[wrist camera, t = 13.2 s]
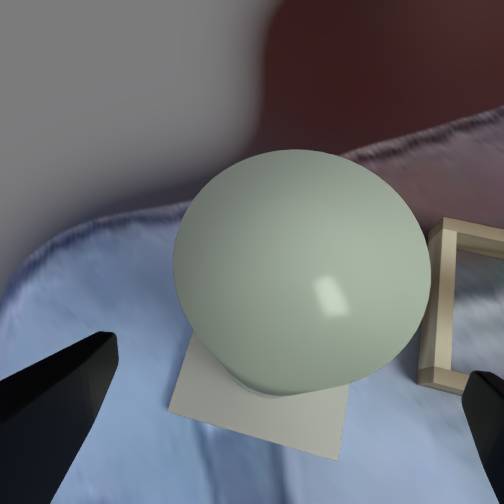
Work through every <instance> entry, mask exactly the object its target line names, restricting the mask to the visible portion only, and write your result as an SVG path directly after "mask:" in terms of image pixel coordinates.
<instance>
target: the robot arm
mask: <svg viewBox="0 0 504 504" xmlns="http://www.w3.org/2000/svg"><path fill="white" fill-rule="evenodd" d="M118 361H119V356H118V346H117V337H116V334H115V333H113V332H104V331H99V332H96V333H94V334H92V335H90V336H88V337H86V338H84V339H82V340H81V341H79V342H77V343H75V344H73V345H71V346H69V347H67V348H65V349H63V350H61V351H59V352H57V353H55V354H53V355H51V356H49V357H47V358H45V359H43V360H41V361H39V362H37V363H35V364H33V365H31V366H29V367H27V368H25V369H23V370H21V371H19V372H17V373H15V374H13V375H11V376H9V377H7V378H5V379H3V380H1V381H0V504H50V503H51V501H52V499H53V497H54V495H55V493H56V492H57V490H58V488H59V486H60V484H61V483H62V481H63V479H64V477H65V475H66V473H67V472H68V470H69V468H70V466H71V464H72V462H73V461H74V459H75V457H76V455H77V453H78V451H79V450H80V448H81V446H82V444H83V442H84V440H85V439H86V437H87V435H88V433H89V431H90V429H91V427H92V425H93V423H94V421H95V419H96V417H97V415H98V412H99V410H100V408H101V405H102V403H103V400H104V398H105V396H106V393H107V391H108V388H109V386H110V384H111V381H112V379H113V376H114V374H115V372H116V369H117V366H118ZM462 407H463V410H464V413H465V416H466V419H467V422H468V424H469V427H470V430H471V433H472V436H473V439H474V442H475V445H476V448H477V451H478V454H479V457H480V460H481V462H482V465H483V468H484V470H485V472H486V475H487V477H488V479H489V481H490V484H491V486H492V488H493V490H494V493H495V495H496V497H497V499H498V501H499V504H504V380H503V379H501V378H500V377H498V376H497V375H495V374H493V373H491V372H485V371H473V372H471V373H470V375H469V378H468V381H467V383H466V386H465V389H464V391H463V394H462Z"/></svg>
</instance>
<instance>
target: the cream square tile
mask: <svg viewBox="0 0 504 504" xmlns="http://www.w3.org/2000/svg"><path fill="white" fill-rule="evenodd" d="M349 385H350V384H347V385H342V386H338V387H334V388H329V389H324V390H319V391H313V392H308V393H303V394H298V395H292V396H287V397H282V398H274V399H272V398H263V397H259V396H257V395H254V394H252V393H250V392H248V391H247V390H246V389H244V388H243V387H242V386H241V385H240V384H239V383H238V382H237V381H236V380H235V378H234V377H233V376H232V375H231V374H230V373H229V372H228V370H227V369H226V368H225V367H224V366H223V365H222V364H221V363H220V361H219V360H218V359H217V358H216V357H215V356H214V355H213V353H212V352H211V351H210V350H209V349H208V348H207V347H206V345H205V344H204V343H203V342H202V340H201V339H200V338H199V337H198V336H197V334H196V333H195V332H194V330H193V333H192V336H191V339H190V342H189V345H188V348H187V351H186V354H185V358H184V361H183V364H182V367H181V370H180V373H179V376H178V380H177V383H176V386H175V389H174V392H173V395H172V398H171V401H170V405H169V408H168V411H167V412H170V413H174V414H177V415H180V416H184V417H187V418H191V419H194V420H198V421H201V422H204V423H208V424H211V425H215V426H218V427H222V428H225V429H229V430H232V431H235V432H239V433H242V434H246V435H249V436H253V437H256V438H259V439H263V440H266V441H270V442H273V443H277V444H280V445H284V446H287V447H290V448H294V449H297V450H301V451H304V452H308V453H311V454H314V455H318V456H321V457H325V458H328V459H332V460H335V461H338V460H339V453H340V447H341V440H342V433H343V426H344V419H345V412H346V405H347V399H348V392H349Z"/></svg>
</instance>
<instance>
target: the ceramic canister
mask: <svg viewBox="0 0 504 504" xmlns="http://www.w3.org/2000/svg"><path fill="white" fill-rule="evenodd" d="M173 276H174V283H175V289H176V292H177V296H178V299H179V303H180V305H181V307H182V310H183V312H184V314H185V317H186V319H187V320H188V322H189V323H190V325H191V327H192V328H193V330H194V332H195V333H196V334H197V336H198V337H199V338H200V339H201V340H202V342H203V343H204V344H205V345H206V347H207V348H208V349H209V350H210V351H211V352H212V353H213V355H214V356H215V357H216V358H217V359H218V360H219V361H220V363H221V364H222V365H223V366H224V367H225V368H226V369H227V370H228V372H229V373H230V374H231V375H232V376H233V377H234V378H235V380H236V381H237V382H238V383H239V384H240V385H241V386H242V387H243V388H244V389H246V390H247V391H248V392H250V393H252V394H254V395H257V396H259V397H263V398H272V399H274V398H282V397H287V396H292V395H298V394H303V393H308V392H313V391H319V390H324V389H329V388H334V387H338V386H342V385H347V384H350V383H352V382H355V381H357V380H360V379H363V378H365V377H367V376H369V375H370V374H372V373H374V372H376V371H377V370H379V369H381V368H382V367H383V366H385V365H386V364H387V363H389V362H390V361H391V360H392V359H394V358H395V357H396V356H397V355H398V354H399V353H400V352H401V350H402V349H403V348H404V347H405V346H406V345H407V344H408V342H409V341H410V339H411V338H412V336H413V335H414V334H415V332H416V331H417V328H418V326H419V324H420V322H421V320H422V318H423V316H424V313H425V310H426V306H427V303H428V300H429V293H430V286H431V265H430V259H429V252H428V248H427V245H426V241H425V238H424V235H423V233H422V231H421V228H420V226H419V224H418V222H417V220H416V218H415V217H414V215H413V213H412V212H411V210H410V208H409V207H408V206H407V205H406V203H405V202H404V201H403V199H402V198H401V197H400V196H399V195H398V194H397V193H396V192H395V191H394V190H393V189H392V188H391V187H390V186H389V185H388V184H387V183H386V182H384V181H383V180H382V179H381V178H379V177H378V176H377V175H375V174H374V173H372V172H371V171H369V170H367V169H366V168H364V167H362V166H360V165H358V164H356V163H354V162H352V161H349V160H347V159H344V158H341V157H339V156H335V155H331V154H327V153H324V152H317V151H310V150H281V151H274V152H269V153H264V154H260V155H257V156H254V157H250V158H248V159H245V160H243V161H241V162H238V163H236V164H234V165H233V166H231V167H229V168H228V169H226V170H224V171H223V172H221V173H220V174H219V175H217V176H216V177H215V178H213V179H212V180H211V181H210V182H209V183H208V184H207V185H206V186H205V187H204V188H203V189H202V190H201V191H200V192H199V194H198V195H197V196H196V197H195V198H194V200H193V201H192V203H191V204H190V206H189V207H188V209H187V211H186V212H185V215H184V217H183V219H182V221H181V223H180V226H179V229H178V232H177V236H176V239H175V245H174V252H173Z"/></svg>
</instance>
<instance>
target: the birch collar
mask: <svg viewBox="0 0 504 504" xmlns="http://www.w3.org/2000/svg"><path fill="white" fill-rule="evenodd" d="M427 248H428V252H429V259H430V265H431V286H430V293H429V300H428V303H427V306H426V310H425V313H424V316H423V318H422V324H421V337H420V349H419V362H418V375H417V384H418V385H421V386H425V387H429V388H433V389H437V390H441V391H444V392H448V393H452V394H456V395H460V396H462V394H463V391H464V389H465V386H466V383H467V381H468V378H469V375H467V374H463V373H459V372H455V371H451V350H452V328H453V306H454V284H455V262H456V249H459V250H464V251H468V252H473V253H477V254H482V255H486V256H491V257H496V258H500V259H504V230H503V229H498V228H493V227H488V226H484V225H479V224H474V223H470V222H465V221H460V220H455V219H451V218H446V217H443V218H442V219H441V220H440V221H439V222H438V223H437V224H436V225H435V226H434V227H433V228H432V229H431V230H430V231H429V235H428V247H427Z"/></svg>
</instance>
